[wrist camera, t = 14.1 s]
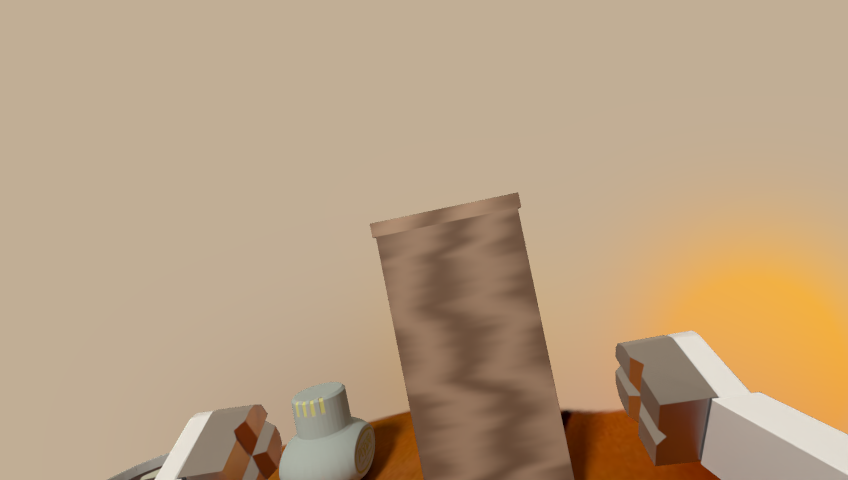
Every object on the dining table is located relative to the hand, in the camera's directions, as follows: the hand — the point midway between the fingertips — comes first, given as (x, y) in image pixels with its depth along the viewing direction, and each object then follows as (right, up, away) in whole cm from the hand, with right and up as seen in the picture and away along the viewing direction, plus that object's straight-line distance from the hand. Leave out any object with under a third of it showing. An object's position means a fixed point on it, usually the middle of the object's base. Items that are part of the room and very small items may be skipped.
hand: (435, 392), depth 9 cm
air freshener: (-10, -23, +35) cm, 43 cm away
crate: (+7, -19, +30) cm, 37 cm away
